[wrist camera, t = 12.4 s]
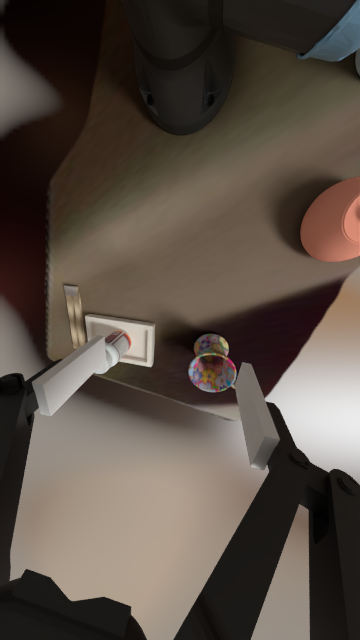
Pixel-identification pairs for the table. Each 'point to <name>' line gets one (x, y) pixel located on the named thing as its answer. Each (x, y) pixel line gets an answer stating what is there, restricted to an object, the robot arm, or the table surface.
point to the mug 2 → (357, 61)
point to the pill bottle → (114, 349)
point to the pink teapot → (334, 223)
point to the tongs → (75, 315)
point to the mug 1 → (212, 364)
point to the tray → (137, 330)
